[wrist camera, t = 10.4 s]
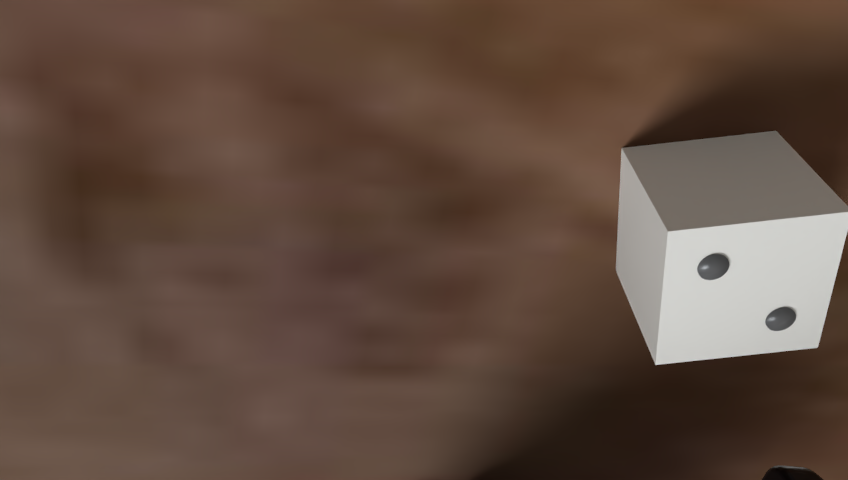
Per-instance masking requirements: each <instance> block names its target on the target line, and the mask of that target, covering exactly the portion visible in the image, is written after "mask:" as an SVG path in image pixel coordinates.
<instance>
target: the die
mask: <svg viewBox="0 0 848 480" xmlns="http://www.w3.org/2000/svg"><path fill="white" fill-rule="evenodd" d="M847 231H848V206H847V205H846V204H845V203H844V202H843V201H842V200H841V199H840V198H839V197H838V196H837V194H836V193H835V192H834V191H833V190H832V189H831V188H830V187H829V186H828V185H827V184H826V183H825V182H824V181H823V180H822V179H821V178H820V177H819V175H818V174H817V173H816V172H815V171H814V170H813V169H812V168H811V167H810V166H809V165H808V164H807V163H806V162H805V161H804V160H803V159H802V158H801V156H800V155H799V154H798V153H797V152H796V151H795V150H794V149H793V148H792V147H791V146H790V145H789V144H788V143H787V142H786V141H785V140H784V139H783V138H782V136H781V135H780V134H779V133H778V132H777V131H769V132H760V133H751V134H742V135H733V136H724V137H716V138H707V139H698V140H689V141H680V142H671V143H662V144H653V145H644V146H635V147H626V148H622V152H621V173H620V193H619V214H618V235H617V255H616V272H617V275H618V277H619V279H620V282H621V284H622V287H623V289H624V291H625V294H626V296H627V298H628V301H629V303H630V306H631V308H632V310H633V313H634V315H635V318H636V320H637V322H638V325H639V327H640V329H641V332H642V334H643V337H644V339H645V341H646V344H647V346H648V348H649V351H650V353H651V356H652V358H653V360H654V363H655V365H660V364H669V363H679V362H688V361H698V360H707V359H717V358H726V357H735V356H745V355H754V354H764V353H773V352H783V351H792V350H802V349H811V348H818V345H819V341H820V338H821V334H822V330H823V326H824V322H825V318H826V314H827V310H828V306H829V302H830V298H831V294H832V290H833V286H834V282H835V278H836V275H837V271H838V267H839V263H840V259H841V255H842V251H843V247H844V243H845V239H846V235H847Z"/></svg>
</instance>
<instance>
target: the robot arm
mask: <svg viewBox="0 0 848 480" xmlns="http://www.w3.org/2000/svg"><path fill="white" fill-rule="evenodd" d="M762 480H823V479H822V478H821V477H820V476H819V475H817V474H816V473H815V472H813V471H812V470H810V469H807V468H803V467H792V466H774V467H772V468H770V469H769V470H768V471H767V472H766V474H765V476H764V477H763V479H762Z"/></svg>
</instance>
